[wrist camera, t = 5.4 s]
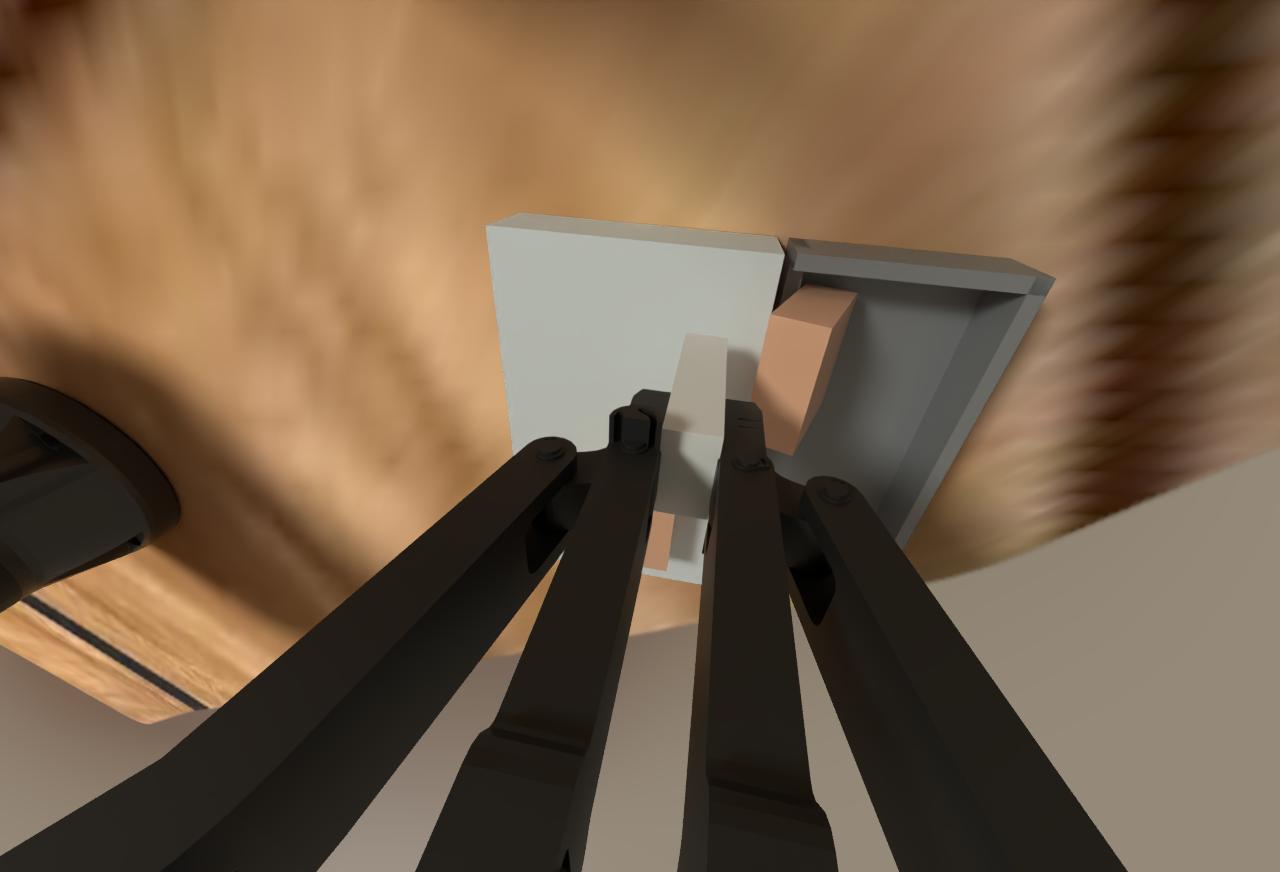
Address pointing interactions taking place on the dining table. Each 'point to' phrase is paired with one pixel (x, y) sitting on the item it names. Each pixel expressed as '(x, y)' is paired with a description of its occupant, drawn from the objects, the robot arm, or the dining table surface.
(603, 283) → the board
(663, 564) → the tile far
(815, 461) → the tray
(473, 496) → the robot arm
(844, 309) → the tile near
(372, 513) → the dining table surface
